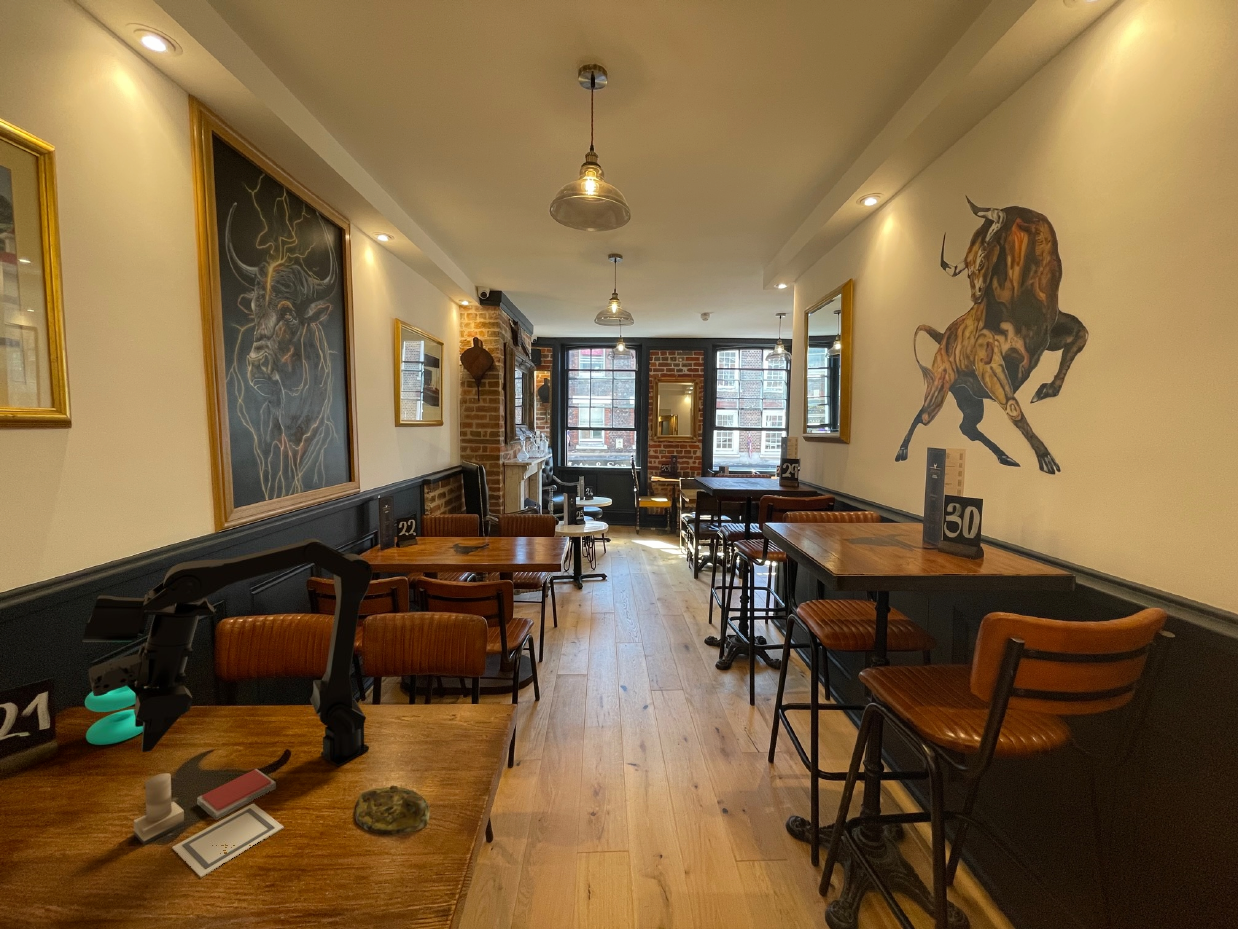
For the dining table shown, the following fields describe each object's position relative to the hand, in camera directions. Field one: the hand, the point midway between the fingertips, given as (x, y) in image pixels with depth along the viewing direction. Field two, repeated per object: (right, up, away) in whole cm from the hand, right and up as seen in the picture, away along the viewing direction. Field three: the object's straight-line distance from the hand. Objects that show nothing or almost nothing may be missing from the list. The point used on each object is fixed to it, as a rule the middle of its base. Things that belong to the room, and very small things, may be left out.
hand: (142, 738), depth 82 cm
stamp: (+3, -14, -1) cm, 15 cm away
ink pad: (+10, -14, +7) cm, 19 cm away
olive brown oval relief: (+39, -15, +4) cm, 42 cm away
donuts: (-28, -13, +25) cm, 40 cm away
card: (+16, -15, -2) cm, 21 cm away
